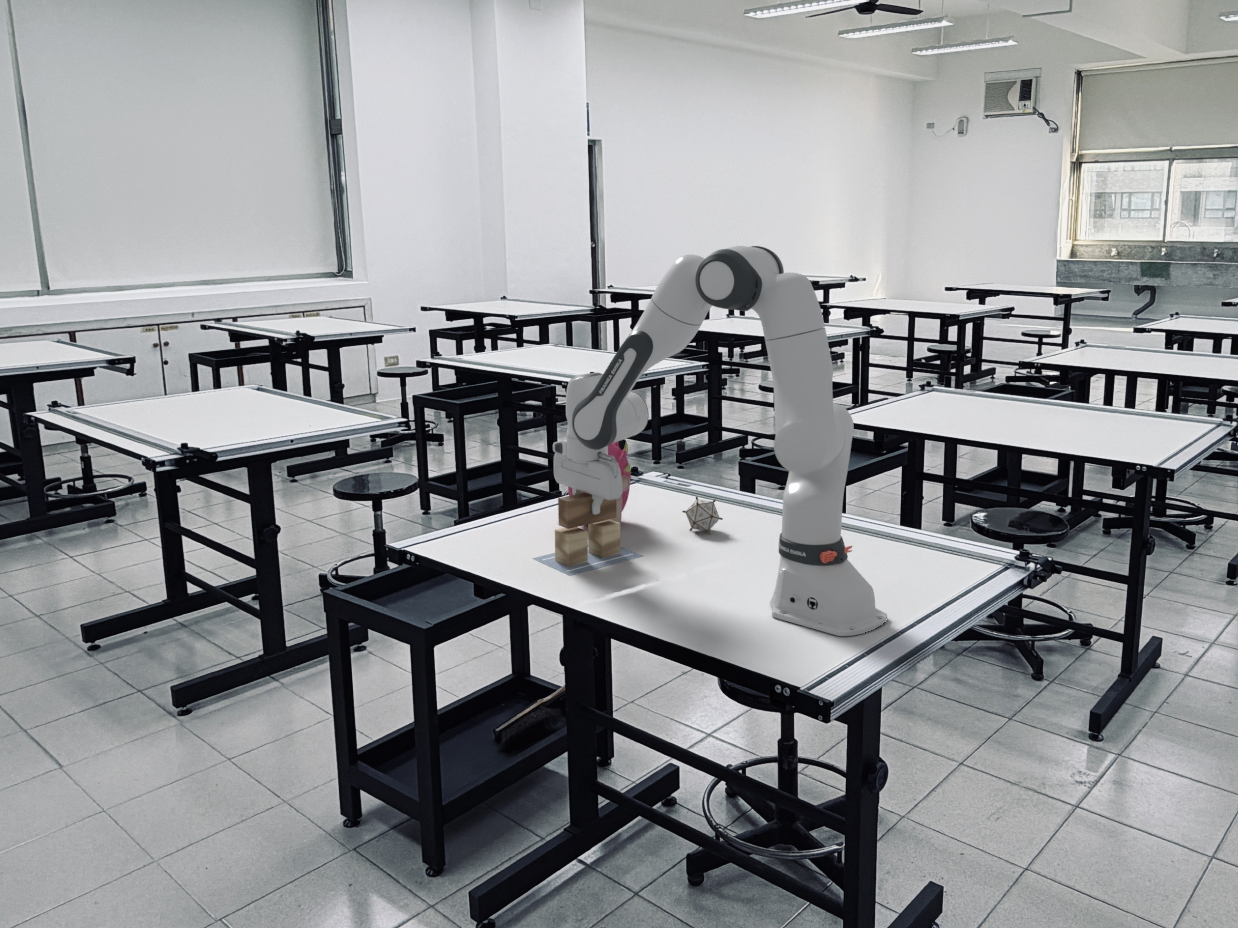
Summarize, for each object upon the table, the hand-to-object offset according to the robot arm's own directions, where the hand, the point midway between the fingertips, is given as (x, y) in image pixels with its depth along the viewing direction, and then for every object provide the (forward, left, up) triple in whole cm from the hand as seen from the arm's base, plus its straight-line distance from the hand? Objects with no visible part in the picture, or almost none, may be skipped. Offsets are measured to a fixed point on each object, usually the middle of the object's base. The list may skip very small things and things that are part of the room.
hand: (587, 511), depth 221 cm
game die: (0, -34, -12) cm, 36 cm away
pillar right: (0, -4, -10) cm, 11 cm away
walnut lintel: (0, 0, -2) cm, 2 cm away
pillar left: (0, +5, -10) cm, 11 cm away
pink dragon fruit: (+18, -17, -12) cm, 27 cm away
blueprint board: (0, 0, -11) cm, 11 cm away
